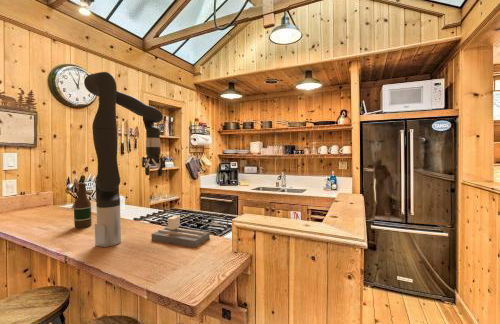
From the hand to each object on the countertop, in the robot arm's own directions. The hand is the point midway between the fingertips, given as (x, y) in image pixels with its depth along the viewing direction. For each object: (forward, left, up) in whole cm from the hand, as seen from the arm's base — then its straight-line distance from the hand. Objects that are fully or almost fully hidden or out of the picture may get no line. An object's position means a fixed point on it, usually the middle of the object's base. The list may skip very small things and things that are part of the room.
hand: (153, 175), depth 135 cm
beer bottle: (-16, +35, -28) cm, 48 cm away
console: (-12, -27, -28) cm, 41 cm away
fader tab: (-12, -23, -25) cm, 36 cm away
